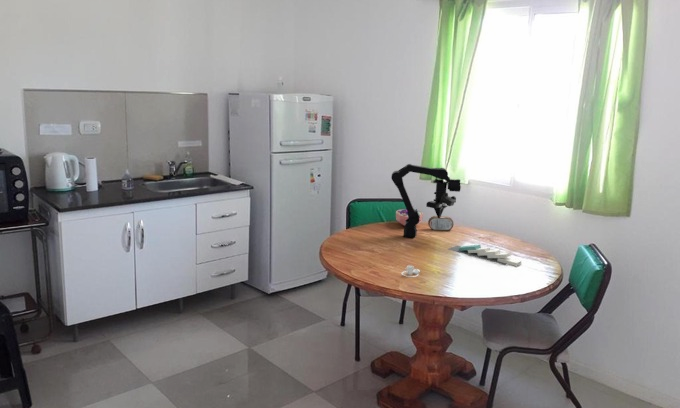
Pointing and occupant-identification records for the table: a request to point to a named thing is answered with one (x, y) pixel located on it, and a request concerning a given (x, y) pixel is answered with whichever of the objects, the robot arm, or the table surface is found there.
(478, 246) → the teal domino
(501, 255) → the domino
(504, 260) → the domino
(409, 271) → the teacup and saucer
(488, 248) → the domino
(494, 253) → the domino
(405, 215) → the cell model
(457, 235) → the table surface
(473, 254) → the mat
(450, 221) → the tin
